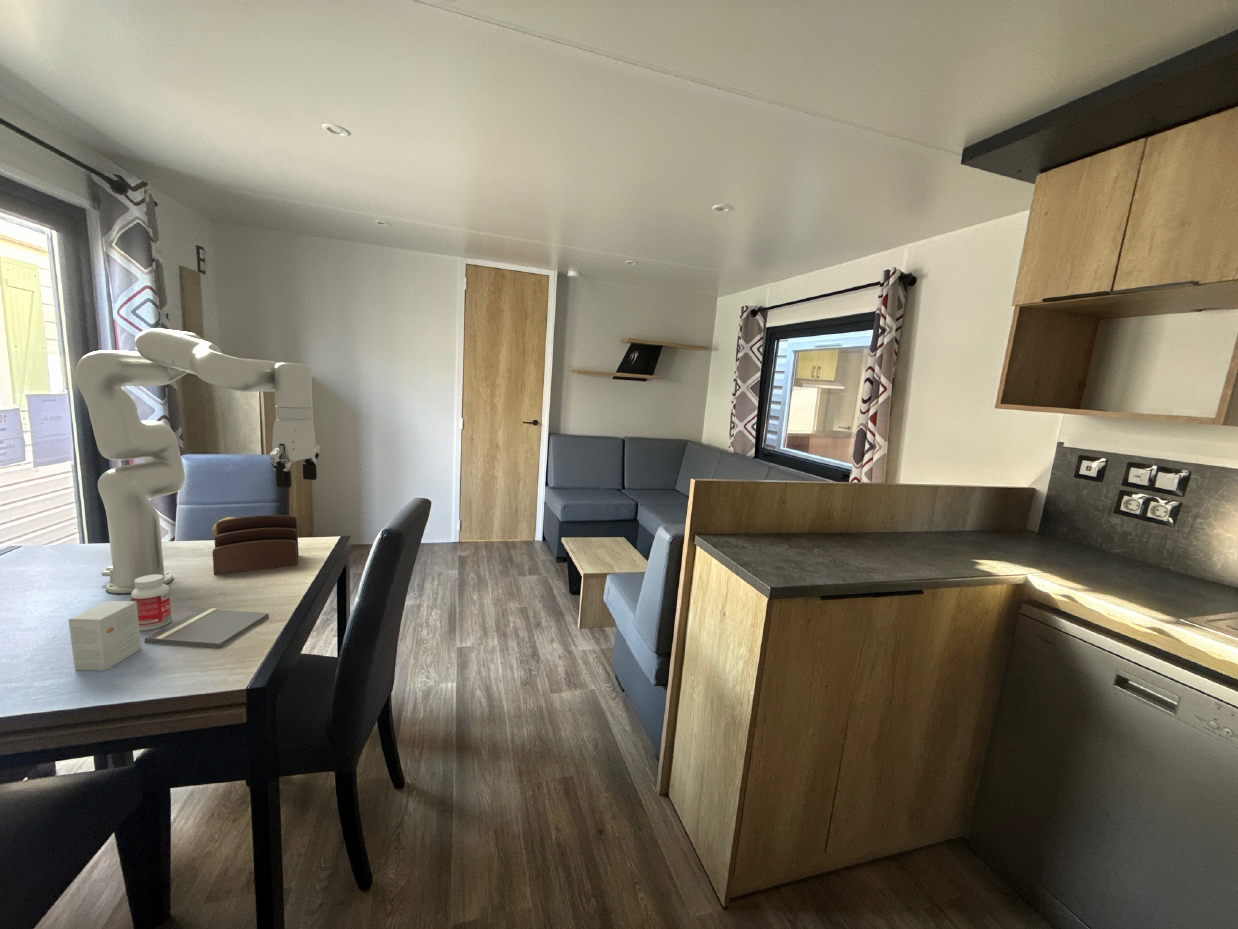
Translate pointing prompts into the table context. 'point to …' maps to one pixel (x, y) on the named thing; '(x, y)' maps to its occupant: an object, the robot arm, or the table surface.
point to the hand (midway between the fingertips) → (297, 483)
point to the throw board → (207, 628)
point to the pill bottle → (152, 602)
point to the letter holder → (255, 543)
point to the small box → (105, 635)
